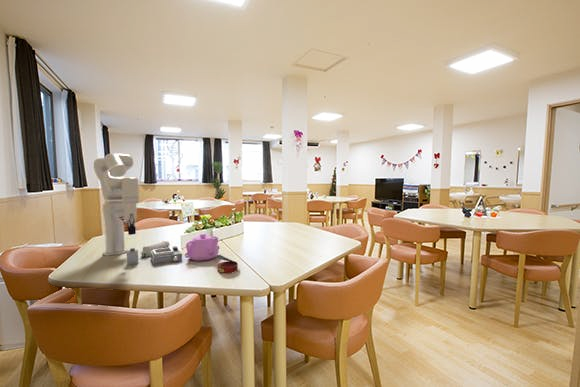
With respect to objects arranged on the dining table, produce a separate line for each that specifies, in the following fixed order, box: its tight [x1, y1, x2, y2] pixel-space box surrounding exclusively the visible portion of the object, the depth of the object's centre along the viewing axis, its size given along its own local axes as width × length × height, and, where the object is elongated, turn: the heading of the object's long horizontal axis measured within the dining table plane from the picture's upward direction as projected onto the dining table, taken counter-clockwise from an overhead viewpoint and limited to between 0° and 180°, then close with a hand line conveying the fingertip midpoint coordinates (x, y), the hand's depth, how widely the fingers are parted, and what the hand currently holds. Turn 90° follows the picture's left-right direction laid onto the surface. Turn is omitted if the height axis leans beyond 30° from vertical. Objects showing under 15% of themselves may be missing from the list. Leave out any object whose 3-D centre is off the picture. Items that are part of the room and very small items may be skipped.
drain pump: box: [126, 247, 139, 266], centre depth 136 cm, size 5×5×8 cm
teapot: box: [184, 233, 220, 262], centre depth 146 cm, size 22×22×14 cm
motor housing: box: [150, 245, 183, 266], centre depth 143 cm, size 16×14×6 cm
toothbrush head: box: [140, 241, 170, 258], centre depth 159 cm, size 5×7×25 cm
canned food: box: [216, 254, 239, 274], centre depth 127 cm, size 11×10×10 cm
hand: (131, 232), depth 135 cm, fingers open, 9 cm apart
